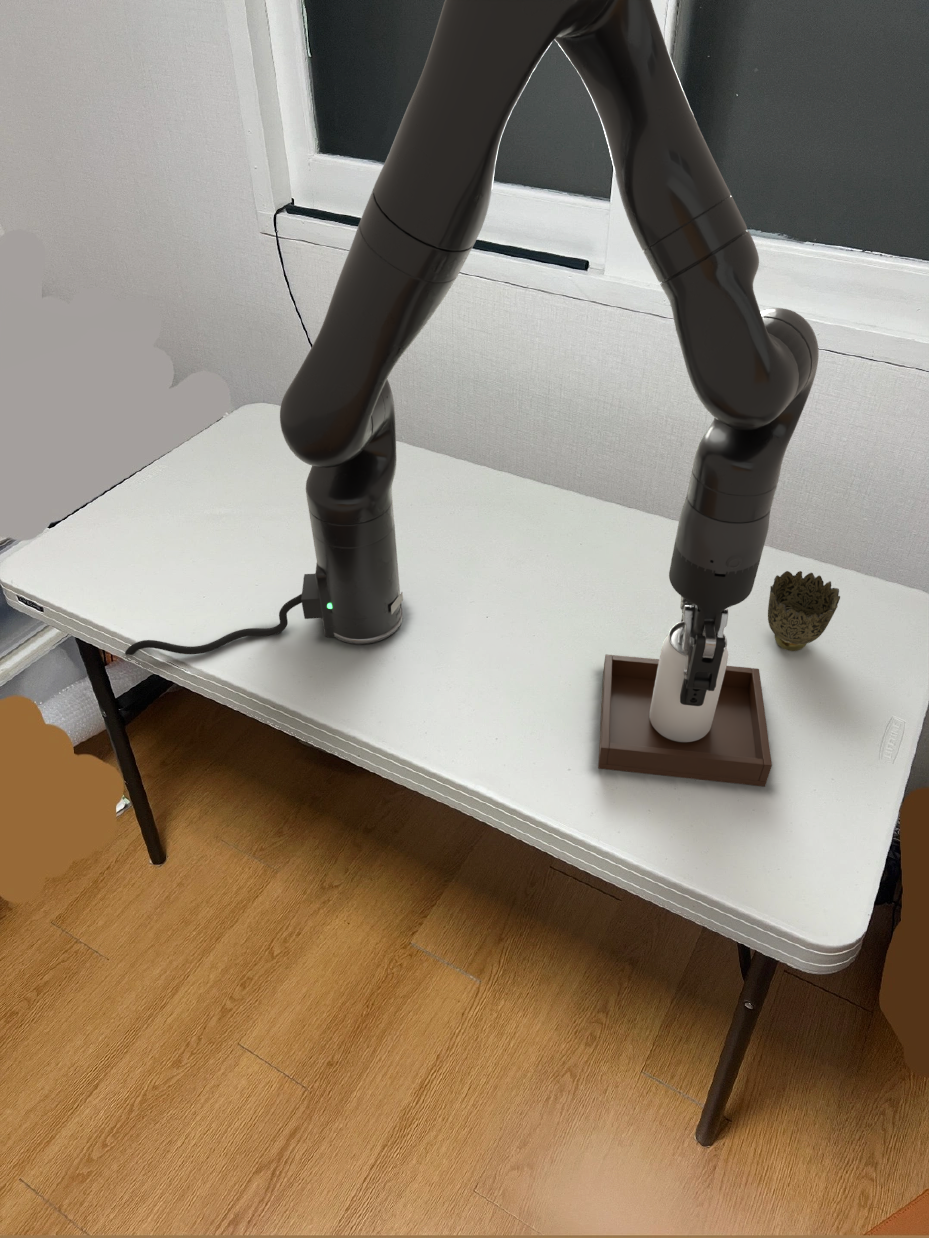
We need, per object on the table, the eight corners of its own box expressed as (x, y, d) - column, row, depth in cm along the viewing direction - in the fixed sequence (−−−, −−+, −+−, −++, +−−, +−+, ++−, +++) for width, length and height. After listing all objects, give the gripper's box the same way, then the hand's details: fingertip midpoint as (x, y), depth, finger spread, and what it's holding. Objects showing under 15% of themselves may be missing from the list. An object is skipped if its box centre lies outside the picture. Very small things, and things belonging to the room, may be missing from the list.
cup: (811, 673, 101) (830, 621, 96) (748, 650, 104) (762, 598, 98) (829, 635, 106) (848, 583, 100) (768, 614, 108) (783, 562, 103)
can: (710, 749, 92) (732, 666, 84) (647, 740, 93) (662, 657, 85) (710, 703, 97) (731, 621, 89) (650, 695, 98) (665, 613, 90)
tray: (598, 768, 91) (600, 747, 89) (602, 675, 101) (605, 654, 99) (765, 786, 89) (772, 765, 87) (753, 689, 99) (759, 668, 97)
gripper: (674, 494, 84) (651, 621, 95) (677, 589, 74) (651, 720, 85) (755, 500, 84) (723, 628, 94) (770, 598, 73) (732, 729, 84)
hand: (689, 672), depth 90 cm, fingers open, 8 cm apart
